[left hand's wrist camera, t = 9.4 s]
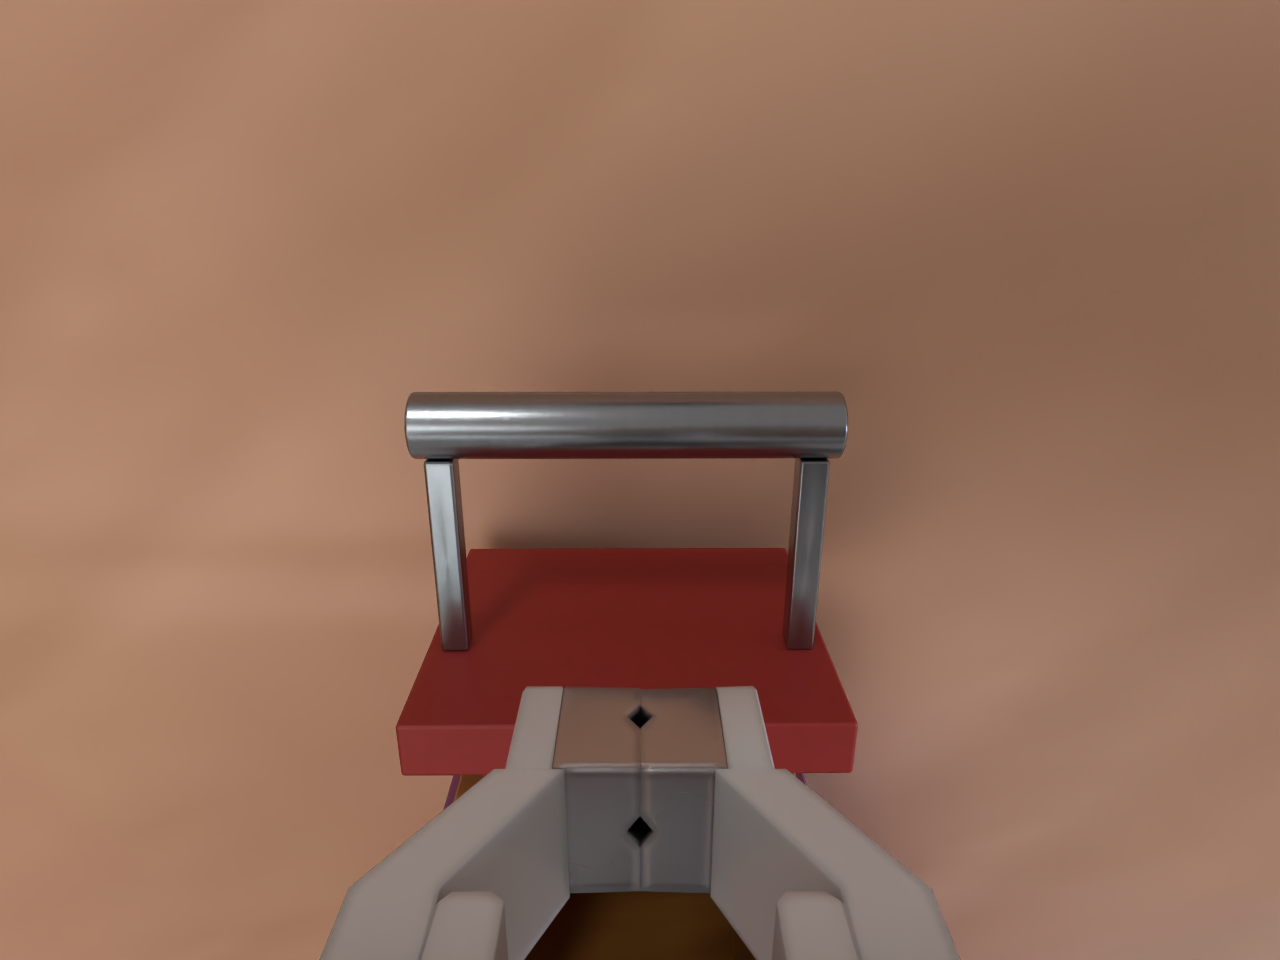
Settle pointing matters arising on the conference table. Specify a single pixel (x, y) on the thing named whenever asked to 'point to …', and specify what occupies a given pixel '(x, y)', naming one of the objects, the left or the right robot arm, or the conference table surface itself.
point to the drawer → (625, 614)
